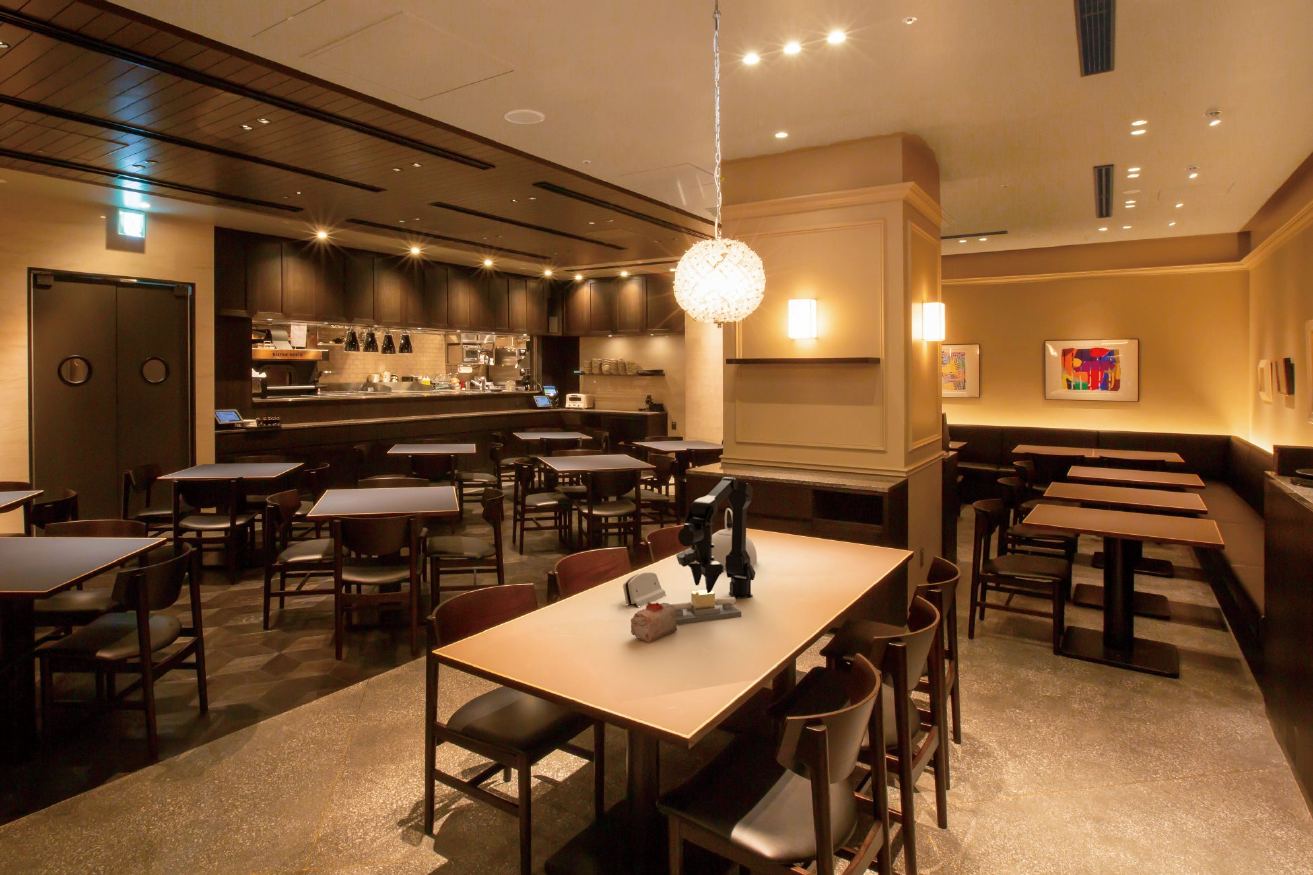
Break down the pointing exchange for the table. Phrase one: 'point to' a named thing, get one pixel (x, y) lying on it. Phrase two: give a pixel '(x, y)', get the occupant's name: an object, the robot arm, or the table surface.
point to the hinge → (642, 589)
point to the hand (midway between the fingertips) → (702, 588)
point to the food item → (654, 621)
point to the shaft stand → (706, 611)
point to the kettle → (729, 544)
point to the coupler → (702, 600)
